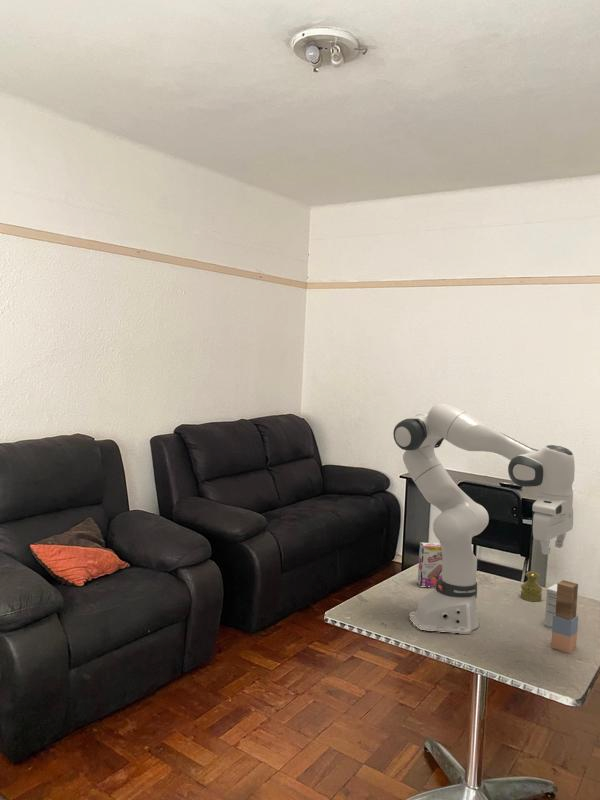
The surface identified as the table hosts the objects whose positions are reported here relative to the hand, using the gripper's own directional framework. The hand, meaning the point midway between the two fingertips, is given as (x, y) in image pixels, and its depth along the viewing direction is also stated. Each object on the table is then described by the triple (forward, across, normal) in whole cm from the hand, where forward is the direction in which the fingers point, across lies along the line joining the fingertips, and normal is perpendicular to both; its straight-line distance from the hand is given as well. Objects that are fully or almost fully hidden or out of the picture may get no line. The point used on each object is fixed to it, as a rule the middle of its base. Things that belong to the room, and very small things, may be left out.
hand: (552, 550), depth 182 cm
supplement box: (+33, -29, -7) cm, 45 cm away
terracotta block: (+33, -14, 0) cm, 36 cm away
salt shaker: (+33, -46, -24) cm, 62 cm away
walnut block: (+23, -14, 0) cm, 27 cm away
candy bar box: (+34, -29, -55) cm, 71 cm away
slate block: (+28, -14, 0) cm, 31 cm away
